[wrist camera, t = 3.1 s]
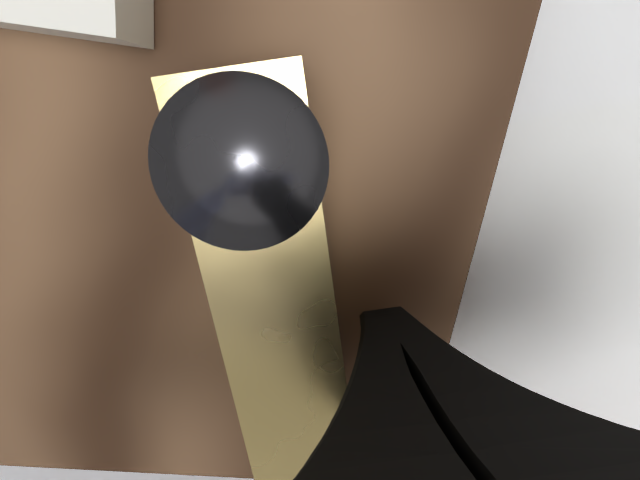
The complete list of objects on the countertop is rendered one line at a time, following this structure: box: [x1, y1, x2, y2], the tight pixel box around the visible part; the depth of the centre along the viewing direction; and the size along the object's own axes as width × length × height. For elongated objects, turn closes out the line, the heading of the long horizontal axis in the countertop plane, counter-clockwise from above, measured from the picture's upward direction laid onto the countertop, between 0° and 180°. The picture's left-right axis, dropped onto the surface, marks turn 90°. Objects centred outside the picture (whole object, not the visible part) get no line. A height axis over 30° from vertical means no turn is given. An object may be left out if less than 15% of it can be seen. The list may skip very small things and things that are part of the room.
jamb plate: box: [0, 0, 542, 478], centre depth 11 cm, size 18×19×1 cm
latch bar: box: [148, 56, 347, 480], centre depth 9 cm, size 10×3×4 cm, turn 8°
